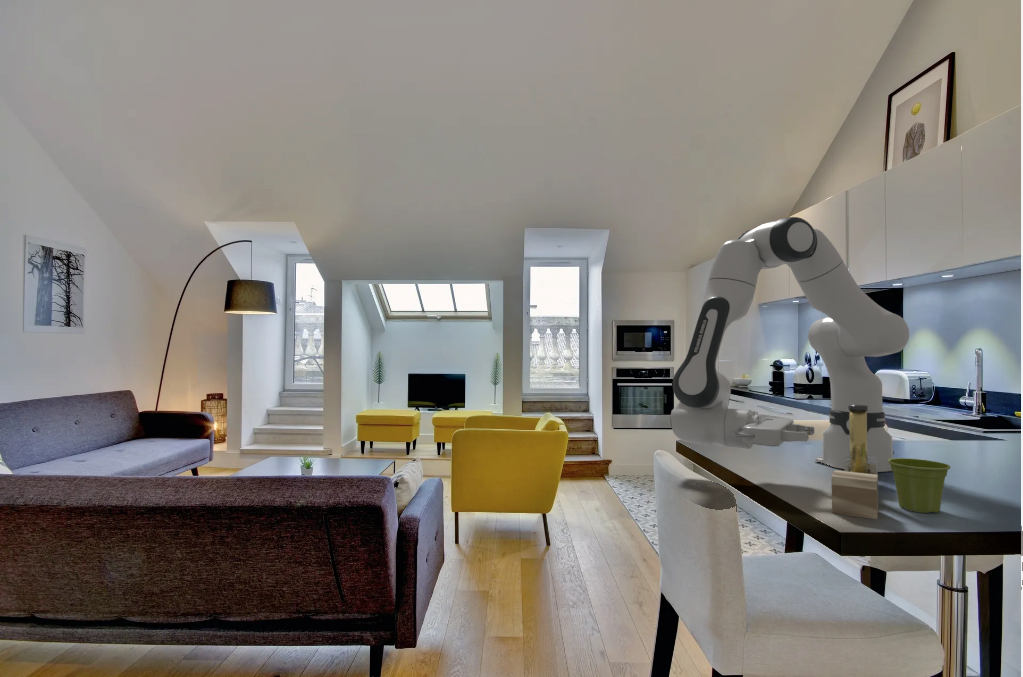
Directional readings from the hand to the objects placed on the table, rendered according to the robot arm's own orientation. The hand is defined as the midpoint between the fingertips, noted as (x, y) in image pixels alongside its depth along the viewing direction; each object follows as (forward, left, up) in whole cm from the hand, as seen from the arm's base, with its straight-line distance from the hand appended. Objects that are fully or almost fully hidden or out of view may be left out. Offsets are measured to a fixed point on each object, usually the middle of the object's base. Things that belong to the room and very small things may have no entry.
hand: (811, 433), depth 116 cm
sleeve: (-9, +9, -12) cm, 17 cm away
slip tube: (-4, +9, -10) cm, 14 cm away
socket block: (+13, +9, -12) cm, 20 cm away
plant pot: (+4, +18, -12) cm, 22 cm away
